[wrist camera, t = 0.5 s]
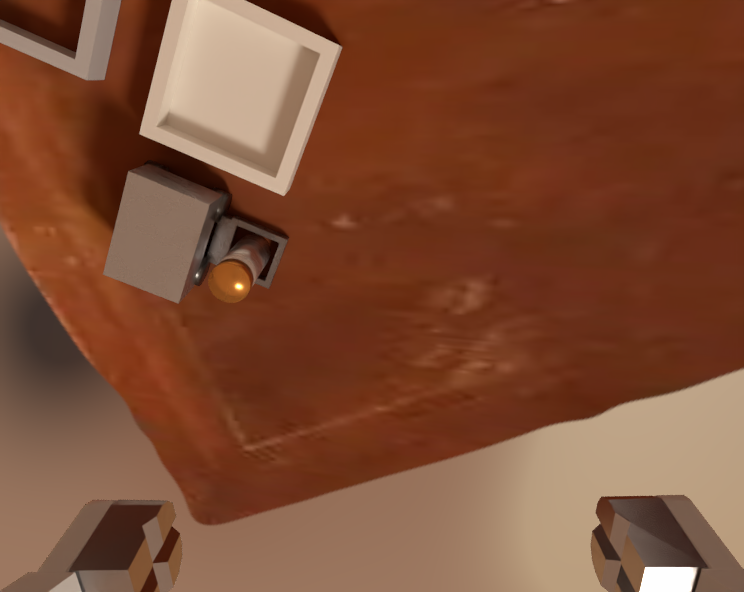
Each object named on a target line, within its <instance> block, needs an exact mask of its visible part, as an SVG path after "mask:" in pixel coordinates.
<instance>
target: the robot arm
mask: <svg viewBox="0 0 744 592" xmlns="http://www.w3.org/2000/svg"><path fill="white" fill-rule="evenodd" d="M596 514H597V517H598V518H599V521H600V523H601V524H599V525H598V526H597V527H596V528H595V529H594V530H593V531H592V539H591V554H592V561H593V565H594V569H595V572H596V574H597V577H598V579H599V582H600V584H601V586H602V587H604V588H605V589H606V590H607V591H608V592H744V569H743V568H742V567H741V566H740V564H739V563H738V562H737V560H736V559H735V558H734V556H733V555H732V554H731V552H730V551H729V550H728V549H727V547H726V546H725V545H724V543H723V542H722V541H721V539H720V538H719V537H718V536H717V534H716V533H715V531H714V530H713V529H712V527H711V526H710V525H709V524H708V522H707V521H706V520H705V519H704V517H703V516H702V514H701V513H700V512H699V510H698V509H697V508H696V507H695V505H694V504H693V503H692V501H691V500H690V499H689V498H687V497H686V496H684V495H661V496H660V495H659V496H619V497H618V496H615V497H601V498H600V500H599V501H598V504H597V509H596ZM175 518H176V513H175V509H174V505H173V503H172V502H170V501H160V500H92V501H90V502H88V503H87V504H85V506H84V507H83V508H82V509H81V511H80V512H79V514H78V515H77V516H76V518H75V519H74V521H73V522H72V523H71V525H70V526H69V528H68V529H67V530H66V532H65V533H64V535H63V536H62V537H61V539H60V540H59V541H58V543H57V544H56V546H55V547H54V548H53V550H52V551H51V553H50V554H49V555H48V557H47V558H46V560H45V561H44V562H43V564H42V566H41V567H40V568H39V570H38V571H37V572H28V573H27V574H25V575H24V576H22V577H21V578H19V579H18V580H16V581H15V582H13V583H11V584H10V585H9V586H7V587H5V588H4V589H2V590H1V591H0V592H168V591H170V590H171V589H172V588H173V587H174V585H175V582H176V579H177V577H178V574H179V571H180V565H181V560H182V540H181V535H180V533H179V532H178V531H177V530H175V529H174V528H173V527H172V524H173V522H174V520H175Z"/></svg>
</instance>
